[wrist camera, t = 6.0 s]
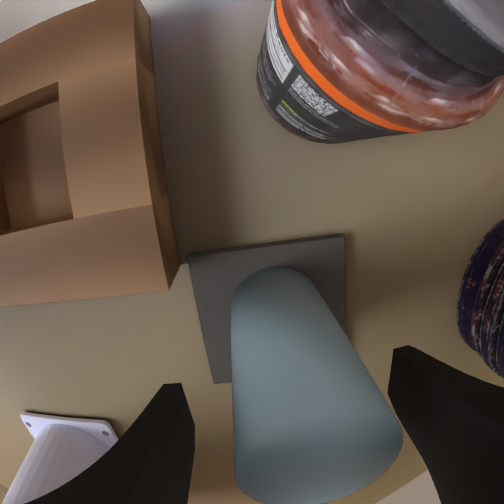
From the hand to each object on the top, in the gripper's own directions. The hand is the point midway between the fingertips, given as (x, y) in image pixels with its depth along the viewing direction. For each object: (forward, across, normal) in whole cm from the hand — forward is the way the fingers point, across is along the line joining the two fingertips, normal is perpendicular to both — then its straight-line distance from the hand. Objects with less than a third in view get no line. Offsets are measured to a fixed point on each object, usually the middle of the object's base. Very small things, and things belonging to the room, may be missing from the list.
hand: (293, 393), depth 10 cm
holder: (+6, +10, -9) cm, 15 cm away
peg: (+5, 0, 0) cm, 5 cm away
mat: (+6, 0, 0) cm, 6 cm away
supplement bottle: (+6, -3, -11) cm, 13 cm away
